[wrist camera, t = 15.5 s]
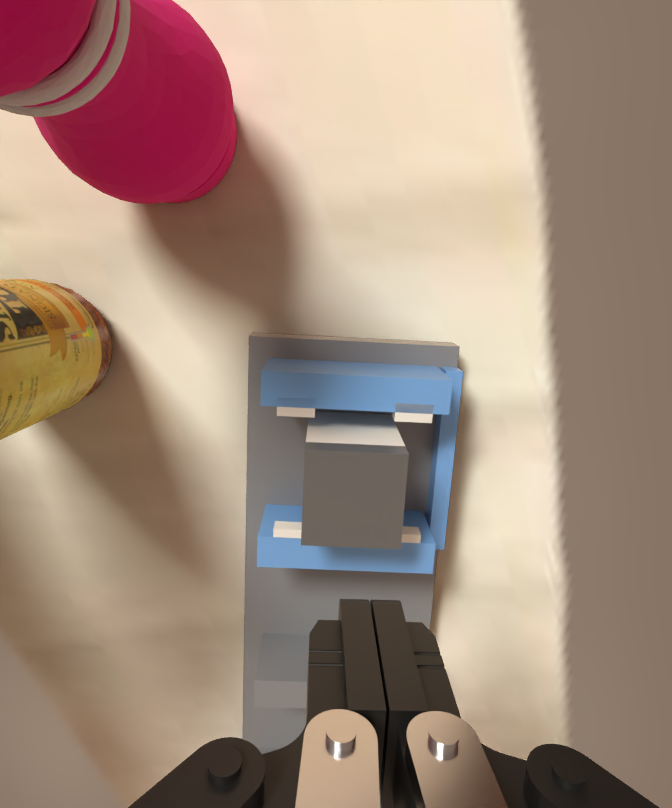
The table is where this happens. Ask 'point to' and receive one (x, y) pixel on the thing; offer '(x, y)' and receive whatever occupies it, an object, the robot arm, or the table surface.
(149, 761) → the table surface
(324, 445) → the grey block
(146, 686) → the table surface
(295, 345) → the grey fixture board
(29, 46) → the pepper mill
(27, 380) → the sauce bottle
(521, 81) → the table surface
